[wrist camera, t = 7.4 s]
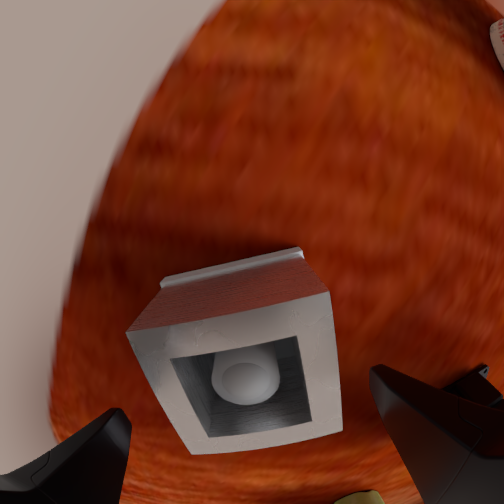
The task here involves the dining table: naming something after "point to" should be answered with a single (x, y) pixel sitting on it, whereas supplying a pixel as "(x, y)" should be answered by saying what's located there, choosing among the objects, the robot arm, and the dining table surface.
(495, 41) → the teacup with lid
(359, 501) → the plant pot
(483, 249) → the dining table surface
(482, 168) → the dining table surface
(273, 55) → the dining table surface
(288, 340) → the shaft base
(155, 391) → the collar
